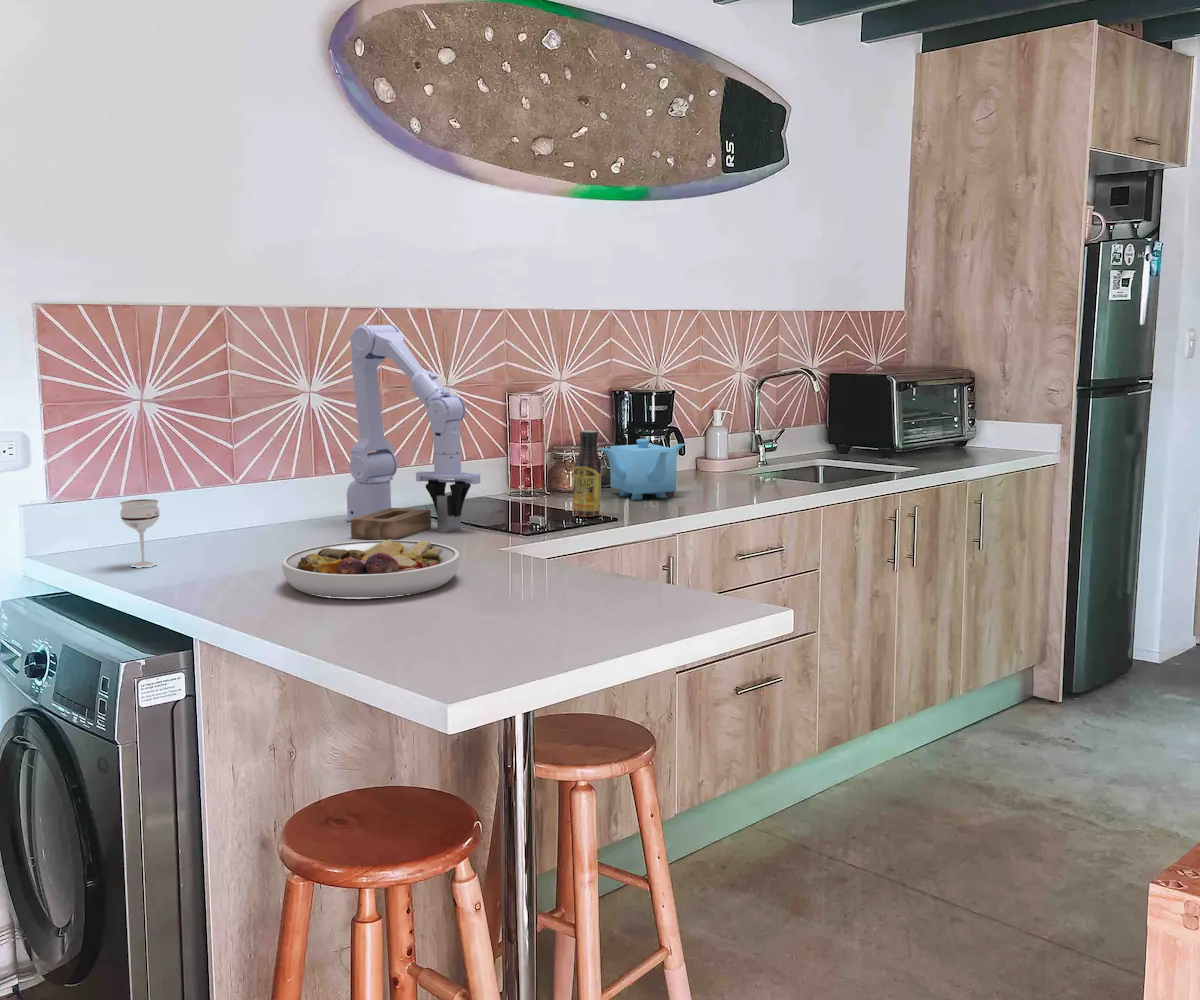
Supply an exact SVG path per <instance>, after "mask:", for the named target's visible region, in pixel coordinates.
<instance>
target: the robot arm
mask: <svg viewBox="0 0 1200 1000" xmlns="http://www.w3.org/2000/svg"><path fill="white" fill-rule="evenodd" d="M349 340H350V342H349V343H350V349H351V350H350V351H351V361H350V362H351V371H352V381H353V382H352V383H353V390H354V391H353V392H354V400H355V410H356V418H357V429H358V440H357V442H355V444H354V445H353V446H352V447H351V449H350V455H351V456H350V459H349V460H350V461H349V473H350V474H351V476H352V478H353V479H354V480H352V481H351V482H350V483H349V485H348V486H347V490H346V510H347V511H346V512H347V518H345V521H346V522H351V519H354V518H358V517H361V516H364V515H368V514H371V513H374V512H378V511H381V510H385V509H388V508H392V493H391V492H392V491H391V490H392V489H391V487H392V486H391V481H393V479H394V478H393V476H395V475H396V473H397V471H398V459H397V457H396V455H395V453H394V448H393V447H394V446H393V444H392V443H391V442H390V441H388V440H387V439H386V438H385V435H384V425H383V415H382V408H381V407H382V406H381V396H380V388H379V387H380V385H379V376H378V368H379V366H380V365H381V363H382V362H383V361H385V360H386V359H387V358H390V359H391V361H392V362H393V363H395V365H396V366H397V367H398V368H399V369H400V370H401V372H403V374H405V375H406V376H407V378H409V380H410V389H411V390H412V392H414V394H415V396H416V397H418V399H419V400H420V401H421V403H422V404H423V405H424V406H425V408H426V409H427V410H426V411H425V412H426V417H427V419H428V421H429V422H430V430H432V431H431V432H432V434H433V438H432V439H433V467H434V468H433V469H434V471H418V472H415V482H427V483H426V484H425V489H426V491H427V493H428V494H429V495H430V498H431V501H432V502H433V505H434V508H435V512H436V514H437V495H441V494H444V493H446V486H447V483H453V484H450V485H449V489H450V492H451V493H452V499H453V515H454V517H458V516H460V517H461V516H462V511H463V506H464V501H465V500H466V496H467V494H468V492H469V490H470V488H471V486H472V485H478V484H481V474H480V473H471V472H462V456H461V455H462V450H461V449H462V448H461V422H462V421H463V419H464V418H465V417H466V412H467V411H466V405H465V403H464V401H463V399H462V397H461V396H459V395H454V394H452V393H450V391H449V390H448V389H447V388H446V387H445V386H444V385H443V384H442V382H441V381H440V380H439V379H438V375H437V374H436V373H435V372H432V371H431V370H424V368H423V367H422V365H421V364H420V363H419V362H418V359H417V358H416V357H415V356H414V354H413V353H412V351H411V350H410V348H409V347H408V345H407V344H406V343H405V335H404V334H403V333H402V332H401V331H400V329H399V328H398V326H396V325H395V324H377V325H376V324H372V325H367V324H359V325H358V326H356V327H355V329H354V330H353V331H352V333H351V334H350V335H349ZM372 451H373V452H372ZM471 484H472V485H471Z"/></svg>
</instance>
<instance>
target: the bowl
mask: <svg viewBox="0 0 1200 1000" xmlns="http://www.w3.org/2000/svg"><path fill="white" fill-rule="evenodd" d="M281 564H282V572H283V575H284V578H285V579H286V581H287V582H288V584H289V585H290V586H292V588H294V589H296V590H297V591H299V592H301V591H302V592H301V593H303V592H305V593H309V594H314V595H321V596H331V597H386V596H397V595H407V594H414V595H416V594H415V593H419V594H421V593H420V592H423V593H426V592H425V591H427V592H430V591H432V589H433V590H436V589H438V588H439V587H442V586H445V584H447V583H448V582H449V581H450V580H451V579H452V578H454V576H455V575H456V573H457V571H458V569H459V565H460V552H459V550H457V549H456V548H454V547H452V546H448V545H446V544H441V543H436V542H430V541H429V540H427V541H426V540H421V541H420V540H405V539H399V540H391V539H389V540H357V541H347V542H337V543H330V544H324V545H317V546H312V547H309V548H305V549H301V550H298V551H295V552H292V553H290V554H288V555H286V556H285V557H284V558H283V559H282V562H281ZM429 590H430V591H429ZM305 593H304V594H305ZM309 594H308V595H309Z"/></svg>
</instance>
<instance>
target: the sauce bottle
mask: <svg viewBox="0 0 1200 1000" xmlns="http://www.w3.org/2000/svg"><path fill="white" fill-rule="evenodd" d="M598 435H599V432H598V431H597V430H591V429H588V430H586V429H585V430H580V432H579V437H580V446H579V447H580V448H579V449H580V450H579V453H578V455H577V458H576V460H575V464H574V467H573V468H574V469H573V470H574V472H573V473H574V474H573V501H572V502H573V503H572V504H573V505H572V506H573V507H572V508H573V515H576V516H580V517H592V516H597V517H599V516H600V511H601V497H602V496H601V495H602V493H601V492H602V491H601V489H602V459H601V457H600V455H599V454H598V447H597V445H598V437H599V436H598ZM576 516H575V517H576ZM580 517H579V518H580Z"/></svg>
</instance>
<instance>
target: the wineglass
mask: <svg viewBox="0 0 1200 1000" xmlns="http://www.w3.org/2000/svg"><path fill="white" fill-rule="evenodd" d="M158 503H159V500H158V499H151V498H150V499H149V498H148V499H146V498H141V499H131V500H124V501H121V502H120V503H119V504H120V505H121V507H122V508H121V510H120V519H121V520H122V522H123V523H124V524H125V525H126V526H127V527H129V528H130V529H133V530H135V531H136V532H137V533H138V535H139V542H140V543H139V545H140V551H141V561H138V562H136V563H134V564H132V565H134V566H147V565H151V564H153V563H154V562H151V561H146V560H145V532H146V531H147V530H148V529H149V528H150V527H151V528H152V527H153V526H154V525H155V524H156V523H157V522H158V520H159V518H160V512H161V511H160V508H159V506H158Z"/></svg>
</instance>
